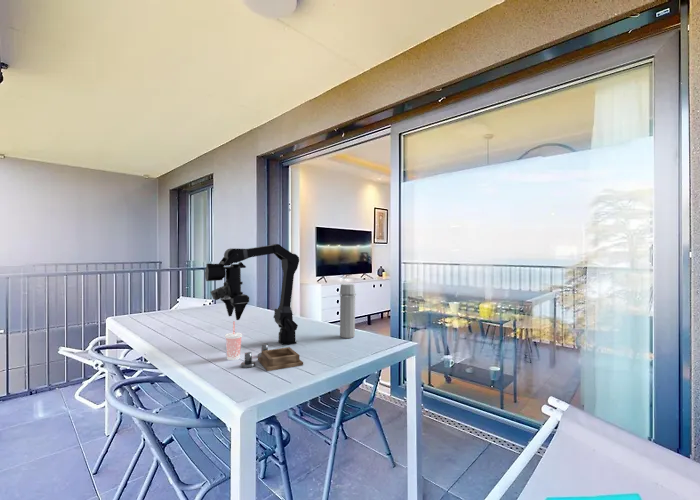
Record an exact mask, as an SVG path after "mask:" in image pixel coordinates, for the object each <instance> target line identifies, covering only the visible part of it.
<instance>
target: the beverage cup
mask: <svg viewBox="0 0 700 500" xmlns="http://www.w3.org/2000/svg"><path fill="white" fill-rule="evenodd" d="M235 323H236V322H235V321H232V325H233V326H232V328H233V329H232V332H229V333H226V334H225V335H224V337H225V345H226V359H227V360H229V361H235V360H239V359H240V358H241V347H242V337H243V333H241V332H235V330H236V329H235Z"/></svg>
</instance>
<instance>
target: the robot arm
mask: <svg viewBox="0 0 700 500" xmlns="http://www.w3.org/2000/svg"><path fill="white" fill-rule="evenodd" d="M272 254H273V255H274V256H276V257H277V259H279V260H280V262H281V268H282V269H281V270H282V272H283V273H282V281H281V282H282V283H281V284H282V285H281V291H280V301H279V305H278V307H277V308H274V314H273V319H274V322H275V324H277V325H278V328H279V332H278V342H279V343H280V344H281V345H283V346H284V345H292V344H297V341H296V331H297V328H298V326H299V325H298V324H297V323H296V322H295V321H294V319H293V310H292V306H291V304H292V303H291V302H292V297H293V296H292V295H293V287H294V279H295V273H296V271H297V269H298V267H299V263H300V257H299V256H298V255H297V254H296V253H292V252H291V251H290V250H288V249H286V248H284V247H283V246H282V245H280V244H279V243H273V244H269V245H262V246H257V247H250V248H234V247H233V248H231V247H230V248H228V249H226V250H225V251H224V254H223V257H222V259H221V260H220V262H219V263H206V265H205V266H206V267H205V269H204V270H205V271H204V278H205V281H206V282H214V281H222V280H223V279H225V281H224V282H223V286H220V287H217V288H215V289H213V290H211V291H210V295H211V297H212V300H215V301H218V300H220V301H221V302H222V303H224V305H225V308H226V312H227V315H228V317H232V316H233V313H235V319H236V321H240V319H241V317H242V315H243V313H244V311H245V309H246V307H247V305H248V304H249V303H250V296H249V295H247V294H243V293H244V292H243V291H242V285H244V284H243V281H242V277H241V276H242V275H241V274H242V273H241V272H242V271H241V269H245V268H247V266H246V265H245V264H244V263H243V261H245V260H248V259H250V258H254V257H255V258H256V257H260V256H266V255H272Z"/></svg>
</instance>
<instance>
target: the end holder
mask: <svg viewBox="0 0 700 500" xmlns="http://www.w3.org/2000/svg"><path fill="white" fill-rule="evenodd" d="M260 353H261V357H258V356H257V362H259V364H260V365H261V366H262V367H263V368H264V370H265V371H266V372H271V371H276V370H282V369H288V368H294V367H295V368H296V367H301V366H303V365H304V361H302V360H301V359H300V354H299V353H298V352H297V351H295V350H294V349H293V348H291V347H290V346H287V347H281V348H273V349H268V350H265V351H260Z"/></svg>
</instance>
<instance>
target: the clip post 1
mask: <svg viewBox="0 0 700 500" xmlns="http://www.w3.org/2000/svg"><path fill="white" fill-rule="evenodd" d="M254 367H256V362H255V361H254V360H253V353H252V352H250V351H248V352H245V353H244V361H243V362H241V363H240V368H243V369H251V368H254Z"/></svg>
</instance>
